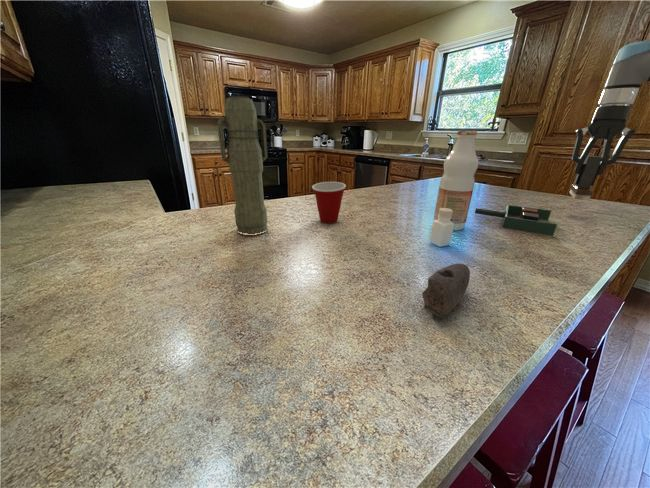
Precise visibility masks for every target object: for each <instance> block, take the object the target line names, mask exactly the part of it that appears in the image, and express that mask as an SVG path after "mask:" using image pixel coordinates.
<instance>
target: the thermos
mask: <svg viewBox="0 0 650 488" xmlns="http://www.w3.org/2000/svg"><path fill="white" fill-rule="evenodd" d="M224 115H225V116H223V117H219V119H218V121H217V123H216V127H217V134H218V142H219V148H220V149H219V150H220V155H221V160H222V162H224V163H225V162H226V163H227V164H228V168H229V171H230V174H231V178H232V185H233V186H232V187H233V194H234V202H235V207H234V218H235V219H234V220H235V225H236V228H237V234H238V236H239V235H240V236H242V237H259V236H262V235H265V234H266V233H267V232H268V209H267V207H266V205H265V197H264V184H263V172H264V161H265V162H266V160H267V159H269V155H268V153H269V152H268V140H267V139H268V137H267V128H266V127H267V126H266V124H265V122H264V120H263V119H260V118H258V116H257V115H258V114H257V109H256V105H255V103H254V100H253V99H252V98H250V97H249V96H245V95H232V96H231V95H230V96H229V97H227V98H226V100H225V105H224ZM223 123H225V125H226V131H227V134H228V135H227V136H228V137H227V141H228V143H227V148H225V147H226V146H225V140H224V139H225V138H224V131H223ZM258 124H259V126H260V137H261V144H260V141H259V137H258V132H259V128H258ZM226 153H227V155H226ZM266 229H267V231H266V232H264V233H261V234H257V235H243V234H240V233H238V231H239V232H242V233H248V234H255V233H260V232H263V231H265V230H266Z"/></svg>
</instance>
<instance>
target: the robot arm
mask: <svg viewBox="0 0 650 488" xmlns="http://www.w3.org/2000/svg"><path fill="white" fill-rule="evenodd" d="M610 68H611V69H610V71H609V73H608V77H607V79H606V82H605V85H604V88H603V91H602V93H601V96H600V99H599V101H598V103H597V104H598V106H597V108H595V112H594V114H593V117H592V120H591V122H590V123H589V124H588V125H587V126H585V127H583V128H578V129H576V130H575V135H576V140H575V143H574V147H573V151H572V155H571V161H573V162H575V163H576V165H575V168H574V171H573V173H574V174H576V177H575V179H574V181H573V184H578V183H579V181H580V178H581V175H582V173H583V170H584V168H585V165H586V164H584V161H585V159H586V158H587V156H589V154H590V153H591V151H592V149H593V147H594V145H595V144H596V143H597V141H598V140H600V139H602V140H603V146H602V152H601V156H600V157H602V160H601V162H600V164H599V167H598V169H597V172H596V174H595V177H594V179H593V181H592V184H591V186H590V187H594V185H595V182H596V180H597V178H598V176H602V175H603V173H604V171H605V168H606V166H608V165H612V164H615V163H616V162H617V161H618V159H619V158H620V155H621V153H622V152H623V150H624V148H625V146H626V144H627V142H628V140H629V139H630V138H631V137H632V136H633V135H634V134H636V130H635V129H631V128H629V127H627V123H626V122H627V120H628V117H629V115H630V112H631V111H632V106H631V105H632V104H634V102H635V101H636V98H637V96H638V93H639V90H640V88H641V86H642V83H644V82H650V40H640V41H633V42H630V43H628V44H625V45H623V46H622V47H620V49H619V50H618V52H617V54H616V57H615V58H614V61H613V63H612V65H611V67H610ZM587 132H588V134H589V135H590V138H589V139H588V142H587V144H586V146H585V148H584V149H583V151H582V153H581V155H580V152H581V151H580V150H581V148H582V144H583V140H584V136H585V135H586V134H587ZM621 132H622V133H621ZM619 133H621V137H620V138H619V140H618V142H617V144H616V146H615V147H614V150H613V152H612V154H611V155H610V152H611V148H612V143H613V140H614V137H615V136H617V135H618V134H619ZM579 155H580V156H579ZM609 156H610V157H609Z"/></svg>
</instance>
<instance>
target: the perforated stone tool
mask: <svg viewBox="0 0 650 488" xmlns="http://www.w3.org/2000/svg"><path fill="white" fill-rule="evenodd" d="M470 278H471V270H470V267H469V266H468V265H466V264H464V263H453V264H450V265H447V266H445V267H442V268H440V269H439V270H436V271H435V272H434V273H432V275H430V276H429V277H428V278H427V287H426V288H425V289H424V290H423V291H422V293H421V295H422V299H423V302H424V303H423V304H424V305H423V306H424V308H425V309H426V310H428V312H429V313H432V314H433V315H434V316H436V317H437V318H439V319H442V318H444V317H446V316H447V315H448V314H449V313H451V312H452V311H453V310H454V309H455V307H456V306H457V305H458V304H459V302H461V300H462V298H463V296H464V295H465V293H466V290H467V289H468V286H469V283H470Z"/></svg>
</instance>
